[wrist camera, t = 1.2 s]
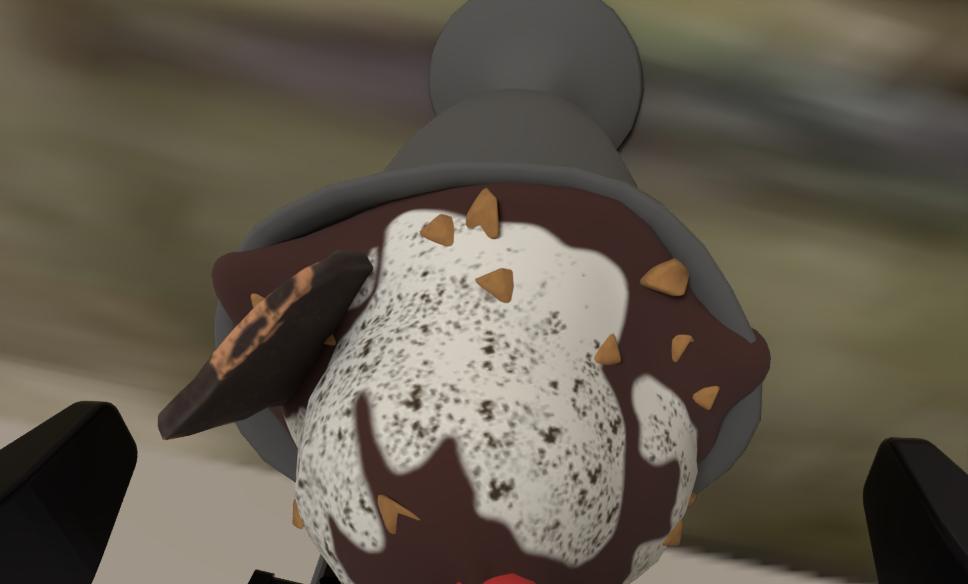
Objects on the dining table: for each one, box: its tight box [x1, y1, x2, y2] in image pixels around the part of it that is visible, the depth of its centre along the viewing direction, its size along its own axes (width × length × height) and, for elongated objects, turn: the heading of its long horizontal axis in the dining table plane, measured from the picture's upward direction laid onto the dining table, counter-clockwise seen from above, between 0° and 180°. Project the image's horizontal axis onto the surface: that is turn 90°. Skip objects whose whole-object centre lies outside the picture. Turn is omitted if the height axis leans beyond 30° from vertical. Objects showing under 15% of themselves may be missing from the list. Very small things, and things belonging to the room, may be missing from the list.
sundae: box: [158, 0, 771, 584], centre depth 11 cm, size 7×7×15 cm
